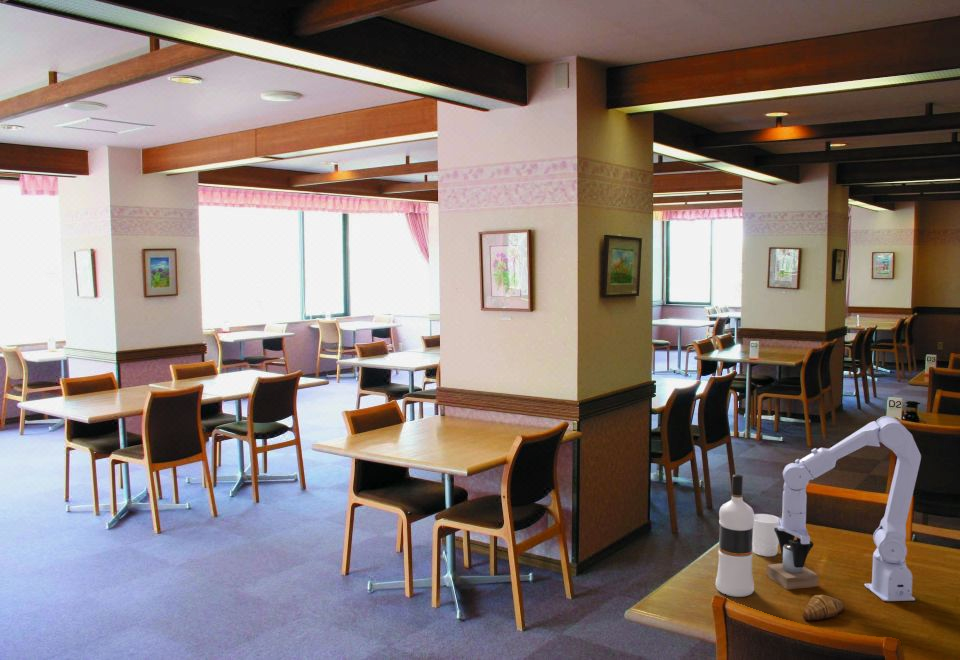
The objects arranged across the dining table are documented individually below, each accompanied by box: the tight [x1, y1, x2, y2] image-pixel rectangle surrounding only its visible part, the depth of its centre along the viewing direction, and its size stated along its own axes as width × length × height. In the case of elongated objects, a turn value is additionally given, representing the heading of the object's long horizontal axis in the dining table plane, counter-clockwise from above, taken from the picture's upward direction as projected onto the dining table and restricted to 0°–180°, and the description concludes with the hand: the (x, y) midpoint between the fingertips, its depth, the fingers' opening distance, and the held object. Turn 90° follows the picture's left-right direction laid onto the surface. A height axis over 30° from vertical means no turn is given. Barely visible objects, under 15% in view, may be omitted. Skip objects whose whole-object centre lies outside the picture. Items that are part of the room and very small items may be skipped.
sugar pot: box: [782, 543, 802, 573], centre depth 206 cm, size 5×5×6 cm
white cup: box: [752, 513, 779, 557], centre depth 226 cm, size 8×8×10 cm
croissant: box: [802, 594, 845, 622], centre depth 187 cm, size 14×7×5 cm, turn 120°
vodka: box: [715, 473, 755, 598], centre depth 199 cm, size 9×9×30 cm
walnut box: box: [765, 562, 819, 590], centre depth 206 cm, size 9×9×3 cm
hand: (792, 561), depth 206 cm, fingers open, 7 cm apart
